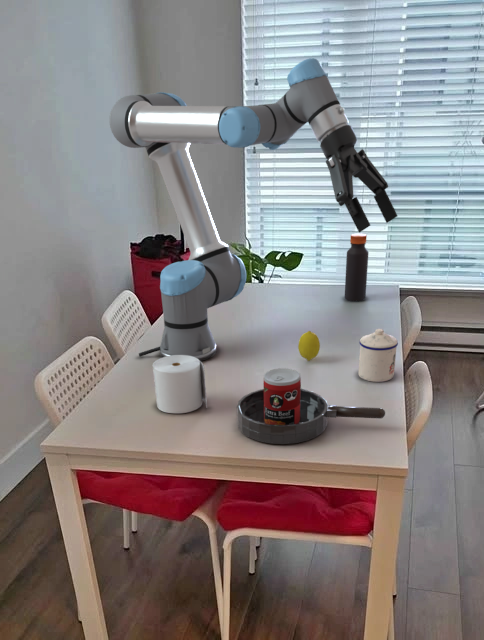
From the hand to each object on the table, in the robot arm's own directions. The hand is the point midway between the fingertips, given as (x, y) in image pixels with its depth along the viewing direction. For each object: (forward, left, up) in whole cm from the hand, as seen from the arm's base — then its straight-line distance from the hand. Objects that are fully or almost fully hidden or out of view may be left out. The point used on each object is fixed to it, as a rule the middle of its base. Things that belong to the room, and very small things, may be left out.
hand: (378, 224), depth 147 cm
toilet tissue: (-42, -20, -36) cm, 59 cm away
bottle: (-4, +64, -36) cm, 73 cm away
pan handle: (-3, -28, -33) cm, 44 cm away
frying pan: (-18, -28, -36) cm, 49 cm away
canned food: (-18, -28, -35) cm, 49 cm away
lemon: (-15, +9, -36) cm, 40 cm away
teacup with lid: (+2, +2, -36) cm, 36 cm away
